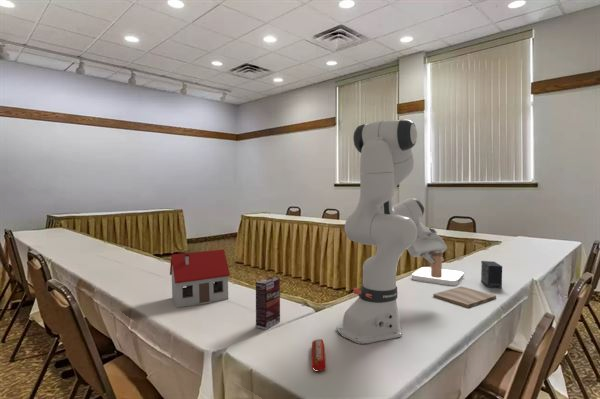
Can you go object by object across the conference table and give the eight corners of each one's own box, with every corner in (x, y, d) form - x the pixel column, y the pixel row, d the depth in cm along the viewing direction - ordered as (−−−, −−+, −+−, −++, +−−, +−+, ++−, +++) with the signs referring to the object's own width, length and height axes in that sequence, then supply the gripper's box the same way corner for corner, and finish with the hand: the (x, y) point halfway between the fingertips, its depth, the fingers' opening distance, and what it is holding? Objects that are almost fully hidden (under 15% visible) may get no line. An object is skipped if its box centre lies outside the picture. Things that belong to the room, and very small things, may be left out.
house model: (226, 289, 163) (225, 246, 162) (231, 302, 144) (230, 253, 143) (171, 295, 155) (169, 250, 155) (168, 310, 136) (166, 258, 135)
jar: (437, 278, 135) (437, 253, 135) (428, 276, 139) (428, 251, 138) (444, 276, 137) (444, 252, 137) (435, 274, 141) (435, 250, 141)
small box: (503, 288, 158) (503, 266, 157) (487, 287, 159) (487, 265, 159) (494, 282, 168) (495, 261, 168) (480, 281, 169) (480, 260, 169)
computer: (422, 271, 193) (422, 266, 192) (464, 276, 180) (464, 271, 180) (410, 280, 175) (410, 274, 175) (456, 287, 162) (456, 281, 162)
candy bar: (312, 345, 104) (312, 336, 104) (324, 346, 104) (324, 336, 104) (312, 375, 88) (311, 363, 88) (326, 375, 88) (326, 363, 88)
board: (468, 307, 133) (468, 304, 133) (433, 296, 147) (433, 294, 147) (496, 298, 144) (496, 295, 144) (461, 288, 157) (461, 286, 157)
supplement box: (266, 330, 115) (265, 284, 114) (255, 327, 118) (254, 282, 117) (281, 321, 122) (280, 278, 122) (270, 319, 125) (269, 276, 124)
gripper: (405, 232, 138) (425, 260, 130) (437, 229, 149) (458, 255, 141) (397, 242, 142) (416, 269, 134) (429, 238, 153) (448, 263, 145)
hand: (437, 262), depth 137 cm, fingers closed on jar, 4 cm apart
